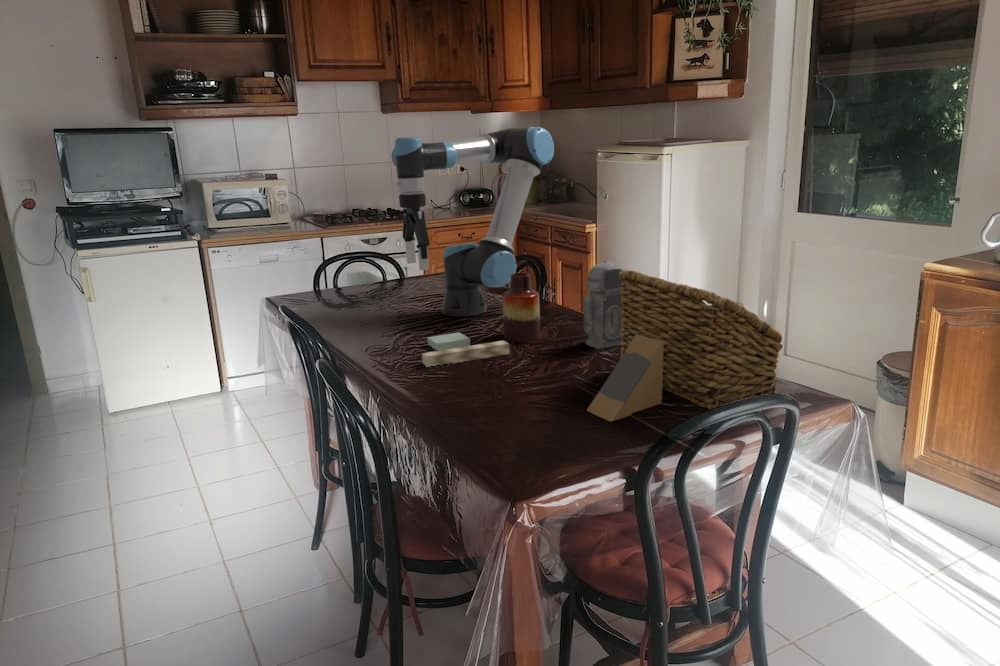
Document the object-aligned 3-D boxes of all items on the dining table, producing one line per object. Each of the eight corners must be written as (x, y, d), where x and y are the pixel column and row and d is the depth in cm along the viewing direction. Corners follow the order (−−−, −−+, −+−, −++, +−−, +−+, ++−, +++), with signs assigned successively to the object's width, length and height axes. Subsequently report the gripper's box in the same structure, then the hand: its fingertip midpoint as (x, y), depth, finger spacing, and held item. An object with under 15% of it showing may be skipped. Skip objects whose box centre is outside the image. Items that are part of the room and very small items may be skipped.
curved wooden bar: (504, 354, 201) (503, 340, 200) (509, 357, 197) (509, 343, 196) (422, 367, 191) (421, 353, 190) (427, 371, 188) (426, 356, 187)
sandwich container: (583, 411, 157) (583, 345, 153) (635, 396, 165) (635, 333, 161) (610, 423, 150) (610, 354, 146) (662, 406, 158) (663, 341, 154)
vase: (547, 340, 213) (546, 273, 208) (523, 348, 205) (521, 278, 200) (520, 334, 220) (518, 269, 215) (496, 342, 212) (493, 275, 207)
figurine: (635, 346, 203) (636, 259, 197) (595, 354, 197) (594, 265, 190) (614, 339, 212) (614, 255, 205) (574, 347, 205) (573, 260, 198)
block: (460, 345, 212) (459, 332, 211) (470, 351, 206) (470, 338, 204) (428, 350, 208) (427, 337, 207) (438, 357, 201) (437, 343, 200)
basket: (799, 393, 162) (807, 277, 155) (712, 416, 151) (717, 292, 144) (690, 355, 193) (693, 257, 186) (612, 371, 182) (612, 267, 175)
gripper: (388, 191, 214) (394, 261, 219) (410, 196, 191) (417, 274, 197) (412, 189, 216) (418, 259, 222) (437, 194, 194) (442, 271, 200)
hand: (417, 266), depth 210 cm, fingers open, 13 cm apart
